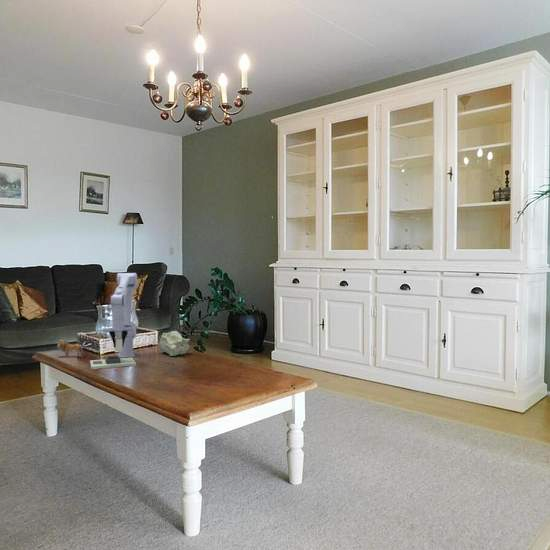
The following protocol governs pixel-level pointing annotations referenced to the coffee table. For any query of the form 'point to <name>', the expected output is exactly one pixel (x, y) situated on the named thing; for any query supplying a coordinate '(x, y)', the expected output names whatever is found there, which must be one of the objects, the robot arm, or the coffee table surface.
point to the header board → (112, 362)
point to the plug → (118, 344)
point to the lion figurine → (69, 348)
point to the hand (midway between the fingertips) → (118, 346)
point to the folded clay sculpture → (173, 343)
